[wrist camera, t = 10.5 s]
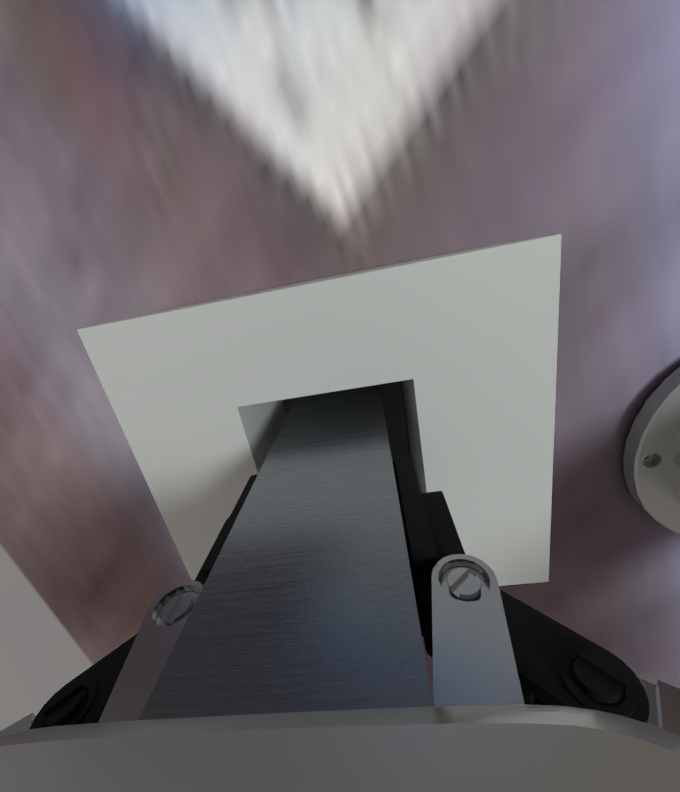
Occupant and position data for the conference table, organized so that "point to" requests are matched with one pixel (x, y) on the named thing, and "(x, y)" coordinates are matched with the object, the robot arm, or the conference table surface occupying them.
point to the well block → (353, 368)
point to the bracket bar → (307, 582)
